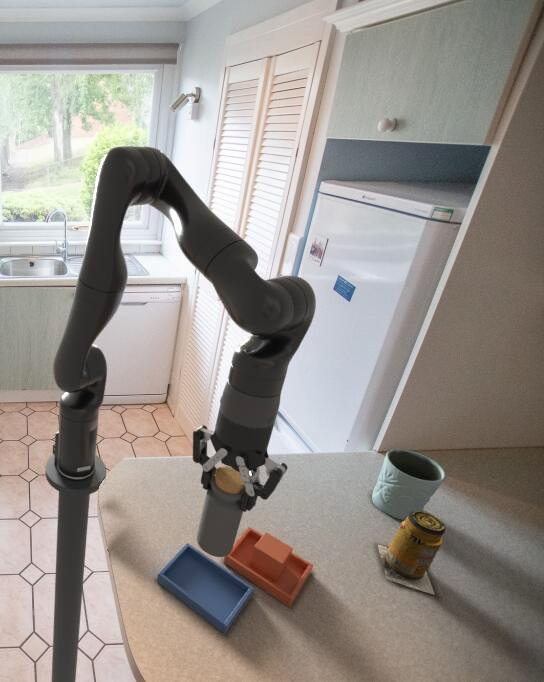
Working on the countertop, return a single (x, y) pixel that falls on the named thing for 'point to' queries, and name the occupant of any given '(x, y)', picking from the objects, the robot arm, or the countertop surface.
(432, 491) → the light teal planter pot
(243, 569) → the terracotta tray
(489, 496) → the countertop surface
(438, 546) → the condiment
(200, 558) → the blue tray
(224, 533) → the bottle
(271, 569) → the block
